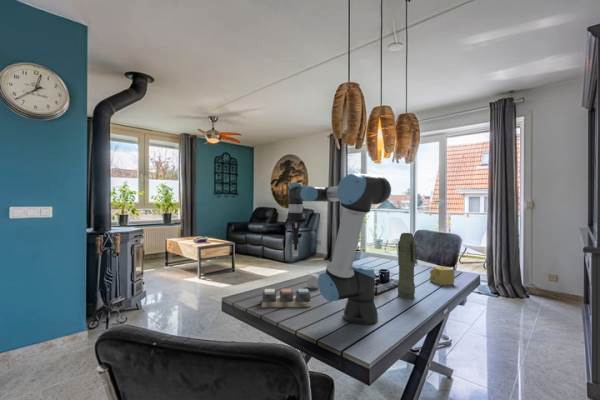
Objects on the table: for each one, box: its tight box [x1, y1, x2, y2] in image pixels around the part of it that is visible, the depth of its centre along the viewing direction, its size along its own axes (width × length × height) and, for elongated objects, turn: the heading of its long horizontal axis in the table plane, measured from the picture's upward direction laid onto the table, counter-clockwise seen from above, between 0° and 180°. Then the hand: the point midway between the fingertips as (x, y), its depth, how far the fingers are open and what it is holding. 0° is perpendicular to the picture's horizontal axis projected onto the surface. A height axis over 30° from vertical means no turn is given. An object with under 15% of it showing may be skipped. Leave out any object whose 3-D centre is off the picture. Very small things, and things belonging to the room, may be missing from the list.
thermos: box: [397, 232, 417, 300], centre depth 158 cm, size 9×12×35 cm
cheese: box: [429, 265, 455, 286], centre depth 186 cm, size 10×11×10 cm
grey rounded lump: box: [305, 273, 319, 289], centre depth 172 cm, size 8×9×10 cm
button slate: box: [297, 288, 310, 294], centre depth 146 cm, size 5×5×3 cm
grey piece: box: [261, 289, 312, 308], centre depth 145 cm, size 24×10×6 cm, turn 94°
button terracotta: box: [281, 288, 292, 294], centre depth 145 cm, size 5×5×3 cm
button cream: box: [263, 288, 276, 294], centre depth 145 cm, size 5×5×3 cm
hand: (295, 254), depth 152 cm, fingers open, 9 cm apart
